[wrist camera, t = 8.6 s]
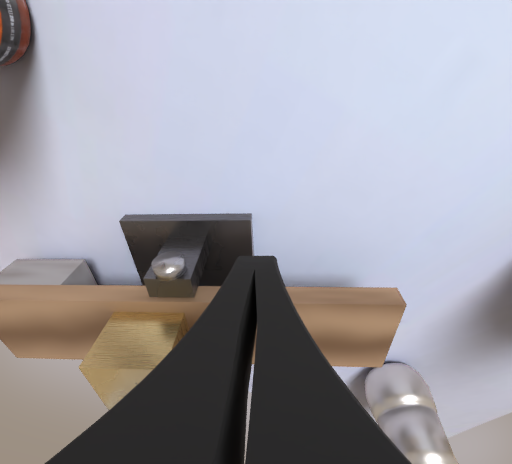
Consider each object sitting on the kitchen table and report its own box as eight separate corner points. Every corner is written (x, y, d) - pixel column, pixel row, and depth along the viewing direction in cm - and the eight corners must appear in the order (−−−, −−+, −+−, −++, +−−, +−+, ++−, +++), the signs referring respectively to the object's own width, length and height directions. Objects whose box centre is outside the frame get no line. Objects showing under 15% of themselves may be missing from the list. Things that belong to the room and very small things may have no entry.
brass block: (196, 355, 21) (181, 412, 17) (134, 354, 21) (108, 409, 18) (184, 312, 18) (164, 370, 15) (114, 311, 18) (78, 367, 15)
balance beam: (364, 319, 24) (381, 367, 20) (54, 314, 26) (17, 357, 22) (381, 259, 20) (406, 304, 16) (16, 259, 22) (-36, 299, 18)
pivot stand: (257, 330, 28) (254, 389, 23) (165, 328, 28) (141, 386, 23) (251, 213, 20) (245, 263, 15) (125, 214, 21) (78, 263, 16)
